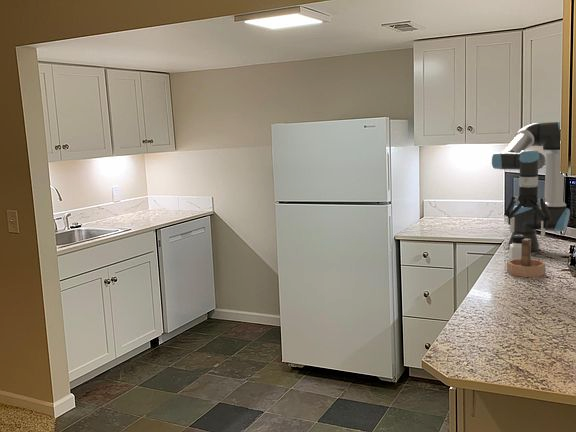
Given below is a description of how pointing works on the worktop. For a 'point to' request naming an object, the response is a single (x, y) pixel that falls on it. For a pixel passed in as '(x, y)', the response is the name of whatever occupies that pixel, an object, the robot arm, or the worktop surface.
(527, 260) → the wooden bar
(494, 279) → the worktop surface
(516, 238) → the medicine bottle
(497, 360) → the worktop surface
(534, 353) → the worktop surface
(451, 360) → the worktop surface
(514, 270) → the orange octagonal tray
